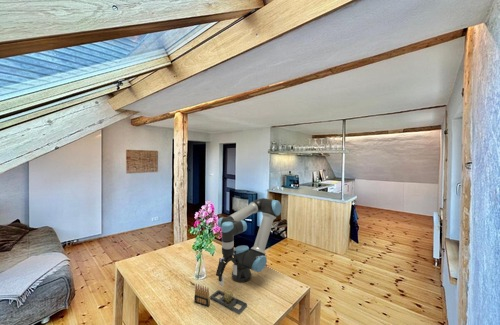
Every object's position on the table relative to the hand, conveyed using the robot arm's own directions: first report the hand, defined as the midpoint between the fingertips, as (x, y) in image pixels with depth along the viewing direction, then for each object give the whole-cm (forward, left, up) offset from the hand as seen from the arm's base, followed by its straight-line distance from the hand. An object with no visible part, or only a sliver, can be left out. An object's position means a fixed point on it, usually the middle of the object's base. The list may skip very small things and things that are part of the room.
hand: (228, 279), depth 129 cm
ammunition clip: (+10, -13, -15) cm, 22 cm away
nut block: (0, 0, -15) cm, 15 cm away
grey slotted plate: (0, 0, -15) cm, 15 cm away
